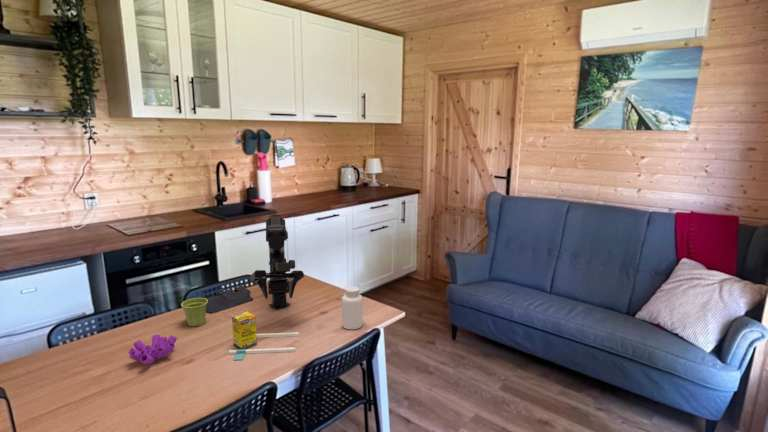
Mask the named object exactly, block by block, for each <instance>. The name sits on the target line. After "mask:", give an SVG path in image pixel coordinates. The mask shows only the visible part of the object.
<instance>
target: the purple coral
mask: <svg viewBox="0 0 768 432" xmlns="http://www.w3.org/2000/svg"><path fill="white" fill-rule="evenodd" d="M177 339H178V337H177V336H174V335H169V337H167V336H161V335H160V334H154V335H152V339H151V344H147V345H145V343H144V342H143V341H142V339H141V340H140V339H138V340H136V341H135V342H133V346H134V347H131V348H130V349H129V350H128V354H129V357H130V358H131V359H132V360H134V361H137V362H141V364H143V365H151V364H152V363H155V361H157V360H159V359H162V358H165V357H166V356H169V354H171V353H172V351H174V349H175V346H176V345H175V343H176V342H177Z"/></svg>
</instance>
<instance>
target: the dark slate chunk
mask: <svg viewBox="0 0 768 432" xmlns="http://www.w3.org/2000/svg"><path fill="white" fill-rule="evenodd" d="M206 299H207V300H208V302H207V305H206V313H208V314H211V315H212V314H213V315H214V314H217V313H220V312H223V311H226V310H229V309H232V308H235V307H239V306H241V305H245V304H247V303H251V302H253V301H254V298H253V297H251V290H249V289H248V288H246V287H245V286H244V285H240V286H237V287H234V289H231V288H230V289H229V288H228V289H227V290H222V291H220V295H214V296H211V297H208V298H206Z"/></svg>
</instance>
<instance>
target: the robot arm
mask: <svg viewBox="0 0 768 432" xmlns="http://www.w3.org/2000/svg"><path fill="white" fill-rule="evenodd" d="M288 233H289V232H288V231H287V229H286V220H285V219H284V218H283V217H282V215H281V214H271V215H269V218H267V220H265V243H267V242H268V243H267V245H268V251H269V254H268V255H269V256H268V257H269V261H268V265H269V272H267V271H266V270H263V269H259V270H258V269H257V270H255V271H253V273H251V275H250V281H252V282H254V284H257V285H258V287H259V289H260V290H261V292H262V295H263V296H264V298H265V300H268V295H271V301H272V302H271V303H269V304H268V306H270V307H271V308H274V309H276V310H280V309H283V308H286V307H289V306H291V304H290V303H289V302H287V294H289V299H293V294H294V291H295V289H296V285H297V284H298V282H300V281H301V280H302V279H304V278H305V273H304V271H303V270H293V269H295V268H296V260H295V259H289V260H288V261H287V258H286V256H285V255H286V254H285V242H287V239H289V234H288ZM291 270H292V271H291ZM268 279H269V280H268Z"/></svg>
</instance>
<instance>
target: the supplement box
mask: <svg viewBox="0 0 768 432" xmlns="http://www.w3.org/2000/svg"><path fill="white" fill-rule="evenodd" d="M231 323H232V326H231V327H232V339H233V345H234V346H235V347H236V348H238V349H246V350H247V349H249V348H251V347H253V346H256V345H258V342H257V337H256V334H257V319H256V315H254V314H253V313H251V312H249V311H248V310H247V311H245V312H242V313H239V314H234V315H232V316H231Z"/></svg>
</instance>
